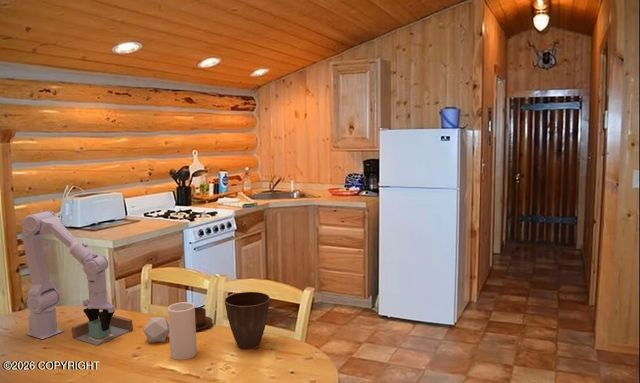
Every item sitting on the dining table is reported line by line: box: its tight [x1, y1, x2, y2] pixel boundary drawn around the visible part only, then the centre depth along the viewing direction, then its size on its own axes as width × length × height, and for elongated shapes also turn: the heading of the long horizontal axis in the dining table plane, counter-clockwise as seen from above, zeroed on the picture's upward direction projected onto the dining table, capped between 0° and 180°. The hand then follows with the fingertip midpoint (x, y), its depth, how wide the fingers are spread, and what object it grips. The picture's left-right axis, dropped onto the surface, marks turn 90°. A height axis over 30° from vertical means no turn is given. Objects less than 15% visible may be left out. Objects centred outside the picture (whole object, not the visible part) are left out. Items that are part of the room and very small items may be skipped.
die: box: [142, 316, 169, 343], centre depth 178 cm, size 8×9×10 cm
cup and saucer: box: [195, 306, 213, 331], centre depth 190 cm, size 12×12×6 cm
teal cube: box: [88, 318, 111, 339], centre depth 180 cm, size 5×5×5 cm
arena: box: [71, 314, 134, 346], centre depth 184 cm, size 13×15×4 cm
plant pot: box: [224, 291, 271, 350], centre depth 173 cm, size 15×15×16 cm
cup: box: [167, 301, 198, 361], centre depth 166 cm, size 8×8×16 cm
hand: (100, 328), depth 180 cm, fingers open, 5 cm apart
